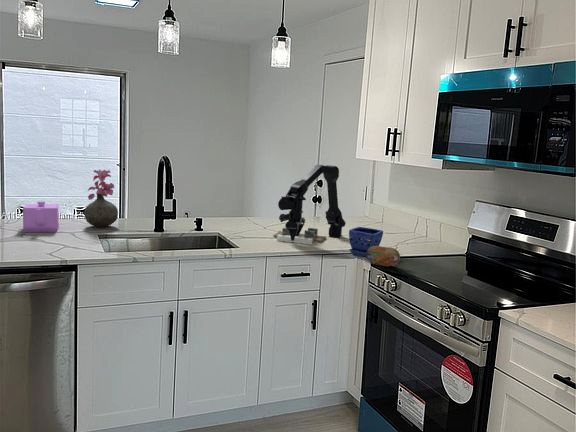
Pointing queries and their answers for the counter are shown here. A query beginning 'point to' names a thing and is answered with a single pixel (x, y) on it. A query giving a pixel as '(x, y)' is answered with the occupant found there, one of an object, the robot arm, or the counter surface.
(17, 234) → the counter surface
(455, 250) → the counter surface
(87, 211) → the vase
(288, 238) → the white bar
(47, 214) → the pink lidded box
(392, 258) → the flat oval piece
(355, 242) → the flower pot
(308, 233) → the cradle board
